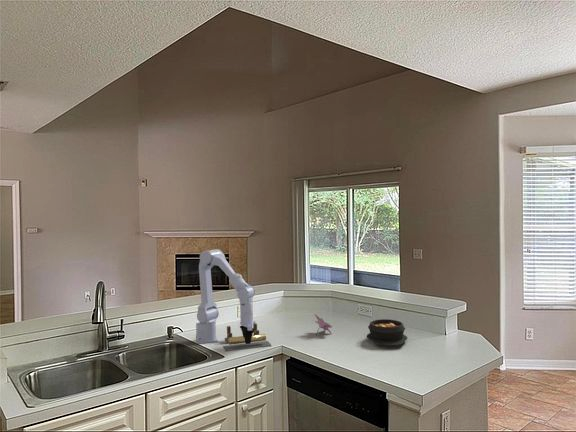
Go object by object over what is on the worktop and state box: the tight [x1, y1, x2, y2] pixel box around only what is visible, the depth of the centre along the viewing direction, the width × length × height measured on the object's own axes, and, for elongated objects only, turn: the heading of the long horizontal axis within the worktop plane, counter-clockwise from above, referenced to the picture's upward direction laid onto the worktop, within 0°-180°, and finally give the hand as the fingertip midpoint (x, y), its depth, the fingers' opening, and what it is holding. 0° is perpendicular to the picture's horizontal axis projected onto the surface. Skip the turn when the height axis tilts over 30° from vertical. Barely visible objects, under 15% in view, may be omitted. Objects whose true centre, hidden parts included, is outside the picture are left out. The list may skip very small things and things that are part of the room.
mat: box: [222, 340, 272, 352], centre depth 193 cm, size 21×7×1 cm, turn 106°
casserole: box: [366, 318, 408, 347], centre depth 196 cm, size 25×19×8 cm
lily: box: [313, 313, 333, 336], centre depth 210 cm, size 12×12×10 cm
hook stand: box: [224, 323, 260, 345], centre depth 203 cm, size 17×6×6 cm, turn 106°
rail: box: [228, 333, 267, 345], centre depth 193 cm, size 17×3×3 cm, turn 106°
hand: (247, 342), depth 193 cm, fingers closed on rail, 3 cm apart
